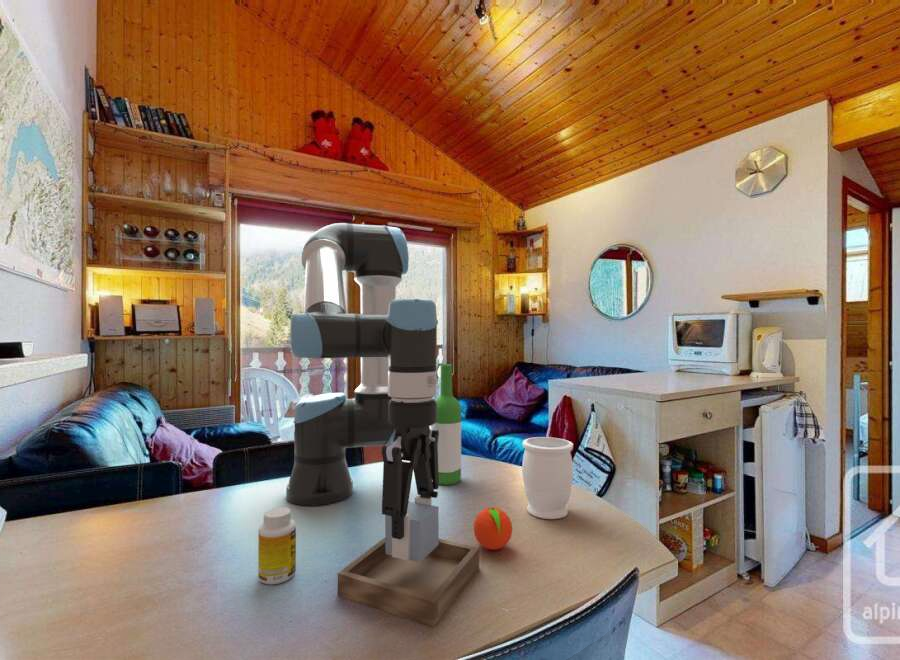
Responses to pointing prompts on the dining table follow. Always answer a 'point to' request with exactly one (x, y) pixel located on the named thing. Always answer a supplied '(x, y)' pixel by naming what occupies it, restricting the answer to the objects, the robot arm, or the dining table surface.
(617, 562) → the dining table surface
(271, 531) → the supplement bottle
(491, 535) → the clementine
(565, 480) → the jar
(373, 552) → the walnut tray
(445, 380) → the wine bottle
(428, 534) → the grey cube
